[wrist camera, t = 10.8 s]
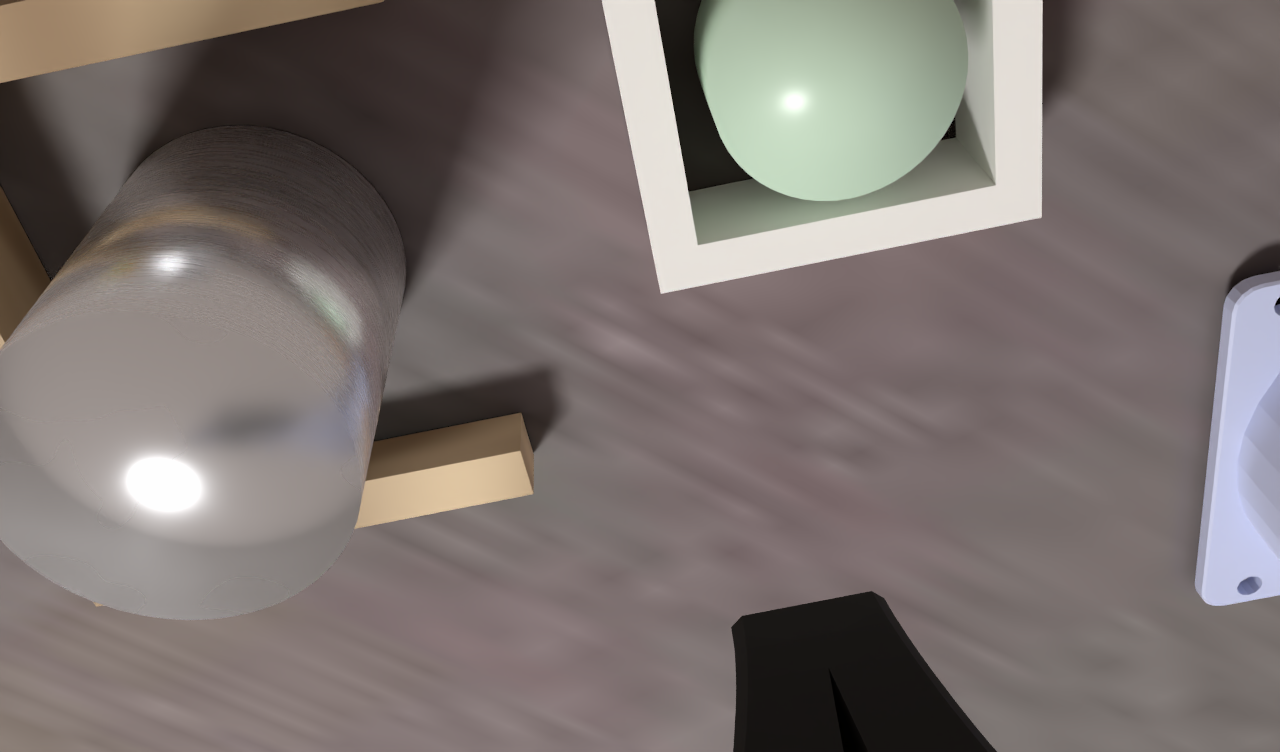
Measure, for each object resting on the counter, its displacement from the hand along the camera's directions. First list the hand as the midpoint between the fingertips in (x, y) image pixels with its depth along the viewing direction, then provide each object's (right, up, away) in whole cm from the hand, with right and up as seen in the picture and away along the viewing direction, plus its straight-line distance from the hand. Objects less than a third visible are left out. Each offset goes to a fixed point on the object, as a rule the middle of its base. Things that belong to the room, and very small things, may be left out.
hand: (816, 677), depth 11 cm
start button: (+1, +8, +7) cm, 11 cm away
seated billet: (-8, +5, +9) cm, 13 cm away
